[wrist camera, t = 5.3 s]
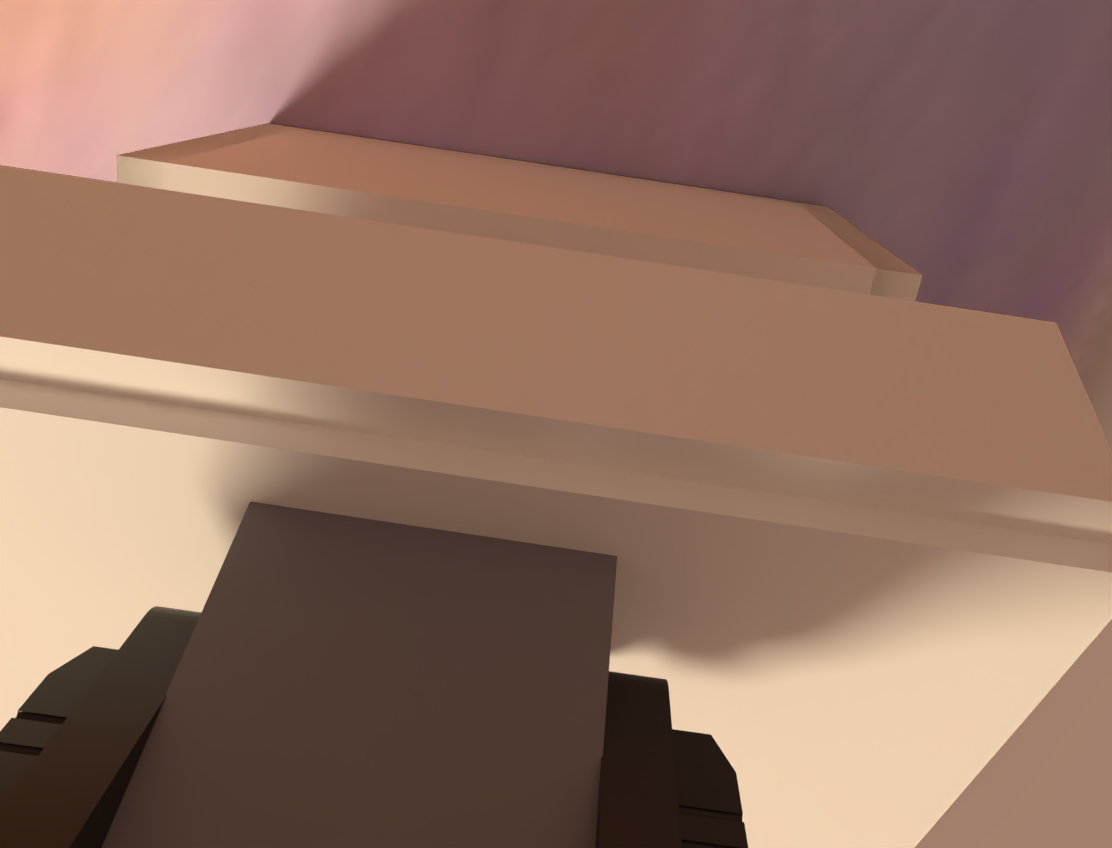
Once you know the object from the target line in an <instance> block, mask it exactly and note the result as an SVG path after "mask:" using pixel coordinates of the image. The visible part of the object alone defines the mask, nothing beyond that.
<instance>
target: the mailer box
mask: <svg viewBox="0 0 1112 848" xmlns="http://www.w3.org/2000/svg"><path fill="white" fill-rule="evenodd" d="M117 183H123V184H130V185H137V186H143V187H150V188H157V189H164V190H170V191H177V192H184V193H190V194H197V195H204V196H211V197H217V198H224V199H231V200H238V201H244V202H251V203H258V204H264V205H271V206H278V207H285V208H291V209H298V210H305V211H311V212H318V213H325V214H332V215H338V216H345V217H352V218H358V219H365V220H372V221H379V222H385V223H392V224H399V225H405V226H412V227H419V228H426V229H432V230H439V231H446V232H452V233H459V234H466V235H473V236H479V237H486V238H493V239H499V240H506V241H513V242H520V243H526V244H533V245H540V246H546V247H553V248H560V249H567V250H573V251H580V252H587V253H593V254H600V255H607V256H614V257H620V258H627V259H634V260H640V261H647V262H654V263H661V264H667V265H674V266H681V267H687V268H694V269H701V270H708V271H714V272H721V273H728V274H734V275H741V276H748V277H755V278H761V279H768V280H775V281H781V282H788V283H795V284H802V285H808V286H815V287H822V288H828V289H835V290H842V291H849V292H855V293H862V294H869V295H875V296H882V297H889V298H896V299H902V300H909V301H916V298H917V294H918V291H919V287H920V284H921V280H922V276H923V275H922V274H920V273H919V272H917V271H916V270H915V269H913V268H912V267H910V266H909V265H908V264H906V263H905V262H904V261H902V260H901V259H899V258H898V257H897V256H895V255H894V254H892V253H891V252H890V251H888V250H887V249H885V248H884V247H883V246H881V245H880V244H879V243H877V242H876V241H874V240H873V239H872V238H870V237H869V236H867V235H866V234H865V233H863V232H862V231H861V230H859V229H858V228H856V227H855V226H854V225H852V224H851V223H849V222H848V221H847V220H845V219H844V218H843V217H841V216H840V215H838V214H837V213H836V212H834V211H833V210H831V209H830V208H829V207H827V206H820V205H813V204H807V203H800V202H793V201H786V200H780V199H773V198H766V197H760V196H753V195H746V194H739V193H733V192H726V191H719V190H713V189H706V188H699V187H692V186H686V185H679V184H672V183H666V182H659V181H652V180H645V179H639V178H632V177H625V176H619V175H612V174H605V173H598V172H592V171H585V170H578V169H572V168H565V167H558V166H551V165H545V164H538V163H531V162H525V161H518V160H511V159H504V158H498V157H491V156H484V155H478V154H471V153H464V152H457V151H451V150H444V149H437V148H431V147H424V146H417V145H410V144H404V143H397V142H390V141H384V140H377V139H370V138H363V137H357V136H350V135H343V134H337V133H330V132H323V131H316V130H310V129H303V128H296V127H290V126H283V125H276V124H269V123H267V124H262V125H258V126H253V127H248V128H243V129H239V130H234V131H229V132H225V133H220V134H215V135H210V136H206V137H201V138H196V139H192V140H187V141H182V142H177V143H173V144H168V145H163V146H158V147H154V148H149V149H144V150H140V151H135V152H130V153H125V154H121V155H117Z"/></svg>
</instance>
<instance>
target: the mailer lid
mask: <svg viewBox="0 0 1112 848" xmlns="http://www.w3.org/2000/svg"><path fill="white" fill-rule="evenodd" d="M155 606H159V607H167V608H174V609H181V610H188V611H195V612H201V615H200V617H199V619H198V622H197V624H196V626H195V628H194V631H193V633H192V635H191V638H190V640H189V642H188V644H187V647H186V649H185V651H184V654H183V656H182V658H181V660H180V663H179V665H178V667H177V670H176V672H175V674H174V676H173V679H172V681H171V683H170V686H169V688H168V690H167V692H166V698H165V700H164V702H163V705H162V707H161V709H160V712H159V714H158V716H157V719H156V721H155V723H154V726H153V728H152V731H151V733H150V735H149V738H148V740H147V742H146V745H145V747H144V749H143V752H142V754H141V756H140V759H139V761H138V763H137V766H136V768H135V770H134V773H133V775H132V777H131V780H130V782H129V784H128V787H127V789H126V791H125V794H124V796H123V798H122V801H121V803H120V805H119V808H118V810H117V812H116V815H115V817H114V819H113V822H112V824H111V826H110V829H109V831H108V833H107V836H106V838H105V840H104V843H103V845H102V848H595V843H596V828H597V813H598V798H599V783H600V768H601V757H603V745H604V732H605V718H606V704H607V690H608V677H609V671H611V672H618V673H625V674H632V675H639V676H646V677H653V678H660V679H666V680H667V682H668V687H669V697H670V709H671V721H672V729H675V730H682V731H689V732H696V733H703V734H710V735H712V737H713V738H714V740H715V741H716V743H717V744H718V746H719V747H720V749H721V750H722V752H723V753H724V755H725V756H726V758H727V759H728V761H729V762H730V764H731V766H732V767H733V769H734V770H735V772H736V774H737V781H738V787H739V793H740V799H741V805H742V811H743V816H742V822H744V824H745V830H746V836H747V842H748V848H915V846H916V845H917V844H918V843H919V842H920V840H921V839H922V838H923V837H924V836H925V835H926V833H927V832H928V831H929V830H930V829H931V828H932V827H933V825H934V824H935V823H936V822H937V821H938V820H939V818H940V817H941V816H942V815H943V814H944V813H945V812H946V810H947V809H948V808H949V807H950V806H951V804H952V803H953V802H954V801H955V800H956V799H957V798H958V796H959V795H960V794H961V793H962V792H963V791H964V790H965V788H966V787H967V786H968V785H969V784H970V783H971V781H972V780H973V779H974V778H975V777H976V775H977V774H978V773H979V772H980V771H981V770H982V769H983V767H984V766H985V765H986V764H987V763H988V762H989V760H990V759H991V758H992V757H993V756H994V755H995V754H996V752H997V751H998V750H999V748H1001V747H1002V745H1003V744H1004V743H1005V742H1006V741H1007V740H1008V738H1009V737H1010V736H1011V735H1012V734H1013V733H1014V731H1015V730H1016V729H1017V728H1018V727H1019V726H1020V724H1021V723H1022V722H1023V721H1024V720H1025V719H1026V718H1027V716H1028V715H1029V714H1030V713H1031V711H1033V709H1034V708H1035V707H1036V706H1037V705H1038V704H1039V702H1040V701H1041V700H1042V699H1043V698H1044V697H1045V695H1046V694H1047V693H1048V692H1049V691H1050V690H1051V688H1052V687H1053V686H1054V685H1055V684H1056V683H1057V682H1058V680H1059V679H1060V678H1061V677H1062V676H1063V675H1064V673H1065V672H1066V671H1067V670H1068V669H1069V668H1070V666H1071V665H1072V664H1073V663H1074V662H1075V661H1076V660H1077V658H1078V657H1079V656H1080V655H1081V654H1082V652H1083V651H1084V650H1085V649H1086V648H1087V647H1088V646H1089V644H1090V643H1091V642H1092V641H1093V640H1094V639H1095V638H1096V636H1097V635H1098V634H1099V633H1100V632H1101V631H1102V629H1103V628H1104V627H1105V626H1106V625H1107V624H1108V622H1109V621H1110V620H1111V619H1112V450H1111V448H1110V446H1109V443H1108V441H1107V439H1106V436H1105V434H1104V432H1103V429H1102V427H1101V425H1100V423H1099V420H1098V418H1097V415H1096V413H1095V411H1094V409H1093V406H1092V404H1091V402H1090V399H1089V397H1088V395H1087V392H1086V390H1085V388H1084V385H1083V383H1082V381H1081V378H1080V376H1079V374H1078V371H1077V369H1076V367H1075V365H1074V362H1073V360H1072V358H1071V355H1070V353H1069V351H1068V348H1067V346H1066V344H1065V341H1064V339H1063V337H1062V334H1061V332H1060V330H1059V328H1058V325H1057V323H1056V322H1050V321H1043V320H1037V319H1030V318H1023V317H1016V316H1010V315H1003V314H996V313H990V312H983V311H976V310H969V309H963V308H956V307H949V306H943V305H936V304H929V303H922V302H916V301H909V300H902V299H896V298H889V297H882V296H875V295H869V294H862V293H855V292H849V291H842V290H835V289H828V288H822V287H815V286H808V285H802V284H795V283H788V282H781V281H775V280H768V279H761V278H755V277H748V276H741V275H734V274H728V273H721V272H714V271H708V270H701V269H694V268H687V267H681V266H674V265H667V264H661V263H654V262H647V261H640V260H634V259H627V258H620V257H614V256H607V255H600V254H593V253H587V252H580V251H573V250H567V249H560V248H553V247H546V246H540V245H533V244H526V243H520V242H513V241H506V240H499V239H493V238H486V237H479V236H473V235H466V234H459V233H452V232H446V231H439V230H432V229H426V228H419V227H412V226H405V225H399V224H392V223H385V222H379V221H372V220H365V219H358V218H352V217H345V216H338V215H332V214H325V213H318V212H311V211H305V210H298V209H291V208H285V207H278V206H271V205H264V204H258V203H251V202H244V201H238V200H231V199H224V198H217V197H211V196H204V195H197V194H190V193H184V192H177V191H170V190H164V189H157V188H150V187H143V186H137V185H130V184H123V183H117V182H110V181H103V180H96V179H90V178H83V177H76V176H70V175H63V174H56V173H49V172H43V171H36V170H29V169H23V168H16V167H9V166H2V165H0V731H1V730H2V729H3V727H4V726H5V725H6V724H7V723H8V721H9V720H10V719H11V718H16V716H17V713H18V709H19V708H20V707H21V706H22V705H23V704H24V702H25V701H26V700H27V699H28V698H29V696H30V695H31V694H32V693H33V692H34V690H35V689H36V688H37V687H38V686H39V684H40V683H41V682H42V681H43V680H44V678H45V677H46V676H47V675H48V674H49V673H51V672H52V671H54V670H56V669H57V668H59V667H60V666H62V665H64V664H65V663H67V662H69V661H70V660H72V659H73V658H75V657H77V656H78V655H80V654H81V653H83V652H85V651H86V650H88V649H90V648H91V647H93V646H96V647H103V648H110V649H117V650H119V649H120V647H121V646H122V645H123V643H124V642H125V641H126V639H127V638H128V637H129V635H130V634H131V633H132V631H133V630H134V629H135V628H136V626H137V625H138V624H139V622H140V621H141V620H142V618H143V617H144V616H145V614H146V613H147V612H148V611H149V610H150V609H151V608H153V607H155Z"/></svg>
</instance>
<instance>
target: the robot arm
mask: <svg viewBox="0 0 1112 848" xmlns="http://www.w3.org/2000/svg"><path fill="white" fill-rule="evenodd" d="M200 615H201V612H195V611H188V610H181V609H174V608H167V607H159V606H155V607H153V608H151V609H150V610H149V611H148V612H147V613H146V614H145V616H144V617H143V618H142V620H141V621H140V622H139V624H138V625H137V626H136V628H135V629H134V630H133V631H132V633H131V634H130V635H129V637H128V638H127V639H126V641H125V642H124V643H123V645H122V646H121V647H120V649H119V650H117V649H110V648H103V647H96V646H93V647H91V648H90V649H88V650H86V651H85V652H83V653H81V654H80V655H78V656H77V657H75V658H73V659H72V660H70V661H69V662H67V663H65V664H64V665H62V666H60V667H59V668H57V669H56V670H54V671H52V672H51V673H49V674H48V675H47V676H46V677H45V678H44V680H43V681H42V682H41V683H40V684H39V686H38V687H37V688H36V689H35V690H34V692H33V693H32V694H31V695H30V696H29V698H28V699H27V700H26V701H25V702H24V704H23V705H22V706H21V707H20V708H19V709H18V713H17V716H16V718H11V719H10V720H9V721H8V723H7V724H6V725H5V726H4V727H3V729H2V730H1V731H0V848H102V845H103V843H104V840H105V838H106V836H107V833H108V831H109V829H110V826H111V824H112V822H113V819H114V817H115V815H116V812H117V810H118V808H119V805H120V803H121V801H122V798H123V796H124V794H125V791H126V789H127V787H128V784H129V782H130V780H131V777H132V775H133V773H134V770H135V768H136V766H137V763H138V761H139V759H140V756H141V754H142V752H143V749H144V747H145V745H146V742H147V740H148V738H149V735H150V733H151V731H152V728H153V726H154V723H155V721H156V719H157V716H158V714H159V712H160V709H161V707H162V705H163V702H164V700H165V698H166V692H167V690H168V688H169V686H170V683H171V681H172V679H173V676H174V674H175V672H176V670H177V667H178V665H179V663H180V660H181V658H182V656H183V654H184V651H185V649H186V647H187V644H188V642H189V640H190V638H191V635H192V633H193V631H194V628H195V626H196V624H197V622H198V619H199V617H200ZM742 816H743V811H742V805H741V799H740V793H739V787H738V781H737V774H736V772H735V770H734V769H733V767H732V766H731V764H730V762H729V761H728V759H727V758H726V756H725V755H724V753H723V752H722V750H721V749H720V747H719V746H718V744H717V743H716V741H715V740H714V738H713V737H712V735H710V734H703V733H696V732H689V731H682V730H675V729H672V721H671V709H670V697H669V687H668V682H667V680H666V679H660V678H653V677H646V676H639V675H632V674H625V673H618V672H611V671H609V677H608V690H607V704H606V718H605V732H604V745H603V757H601V768H600V783H599V798H598V813H597V828H596V843H595V848H748V842H747V836H746V830H745V824H744V822H742Z"/></svg>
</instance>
